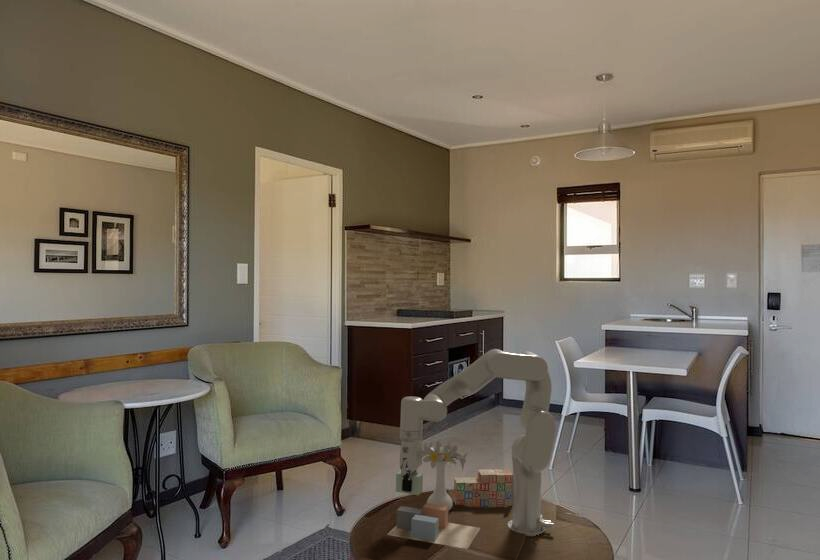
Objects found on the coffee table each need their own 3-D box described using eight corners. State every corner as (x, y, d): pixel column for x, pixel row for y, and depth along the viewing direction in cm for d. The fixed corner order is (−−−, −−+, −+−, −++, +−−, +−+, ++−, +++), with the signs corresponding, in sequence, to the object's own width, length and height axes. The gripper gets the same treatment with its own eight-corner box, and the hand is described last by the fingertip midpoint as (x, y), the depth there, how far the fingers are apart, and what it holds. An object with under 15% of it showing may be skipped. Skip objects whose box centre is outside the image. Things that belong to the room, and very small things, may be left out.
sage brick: (422, 491, 200) (422, 473, 200) (418, 495, 196) (418, 477, 196) (400, 487, 203) (400, 470, 203) (395, 491, 199) (396, 473, 199)
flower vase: (469, 519, 210) (470, 448, 210) (417, 519, 209) (418, 448, 209) (464, 505, 223) (465, 438, 223) (415, 505, 222) (416, 438, 222)
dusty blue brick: (438, 536, 193) (438, 518, 193) (434, 541, 189) (435, 522, 189) (415, 532, 196) (415, 514, 196) (411, 537, 192) (411, 518, 192)
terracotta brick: (448, 523, 203) (448, 506, 203) (444, 528, 200) (445, 510, 200) (426, 520, 206) (426, 502, 206) (422, 524, 202) (422, 506, 202)
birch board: (480, 530, 200) (480, 527, 200) (467, 552, 185) (467, 549, 185) (405, 518, 210) (405, 515, 210) (386, 537, 194) (386, 534, 194)
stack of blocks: (455, 507, 221) (456, 474, 221) (453, 501, 227) (454, 469, 227) (512, 507, 222) (513, 474, 222) (509, 501, 228) (509, 469, 228)
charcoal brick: (423, 527, 200) (423, 509, 200) (419, 532, 196) (419, 513, 196) (400, 523, 203) (401, 505, 203) (396, 528, 199) (396, 510, 199)
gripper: (413, 441, 191) (411, 499, 191) (429, 430, 206) (427, 483, 206) (391, 438, 193) (389, 495, 193) (409, 427, 209) (407, 479, 209)
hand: (409, 488), depth 200 cm, fingers closed on sage brick, 4 cm apart
